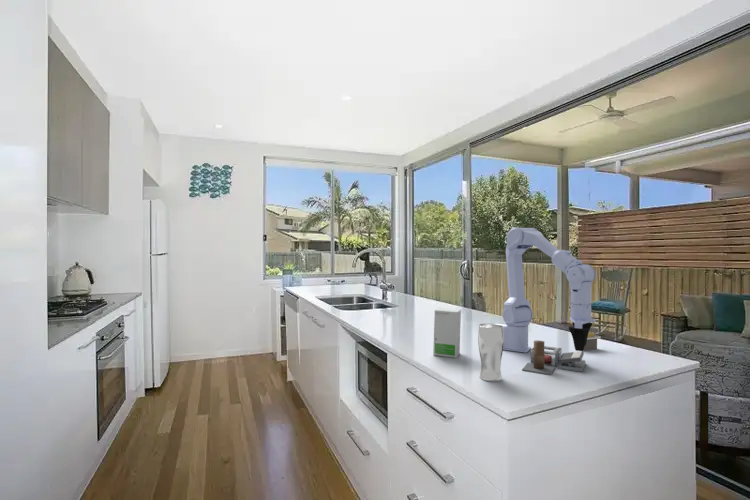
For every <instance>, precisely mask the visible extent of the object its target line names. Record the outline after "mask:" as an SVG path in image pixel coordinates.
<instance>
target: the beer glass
mask: <svg viewBox="0 0 750 500" xmlns="http://www.w3.org/2000/svg"><path fill="white" fill-rule="evenodd" d="M477 339H478V340H477V341H478V351H479V357H480V373H479V378H480V380H483V381H486V382H492V383H495V382H500V381H502V380H503V374H502V371H501V364H502V363H501V362H502V358H503V353H504V352H503V351H504V350H503V347H504V334H503V326H502V324H498V323H492V322H491V323H489V322H488V323H487V322H486V323H480V324H478V335H477Z"/></svg>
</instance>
